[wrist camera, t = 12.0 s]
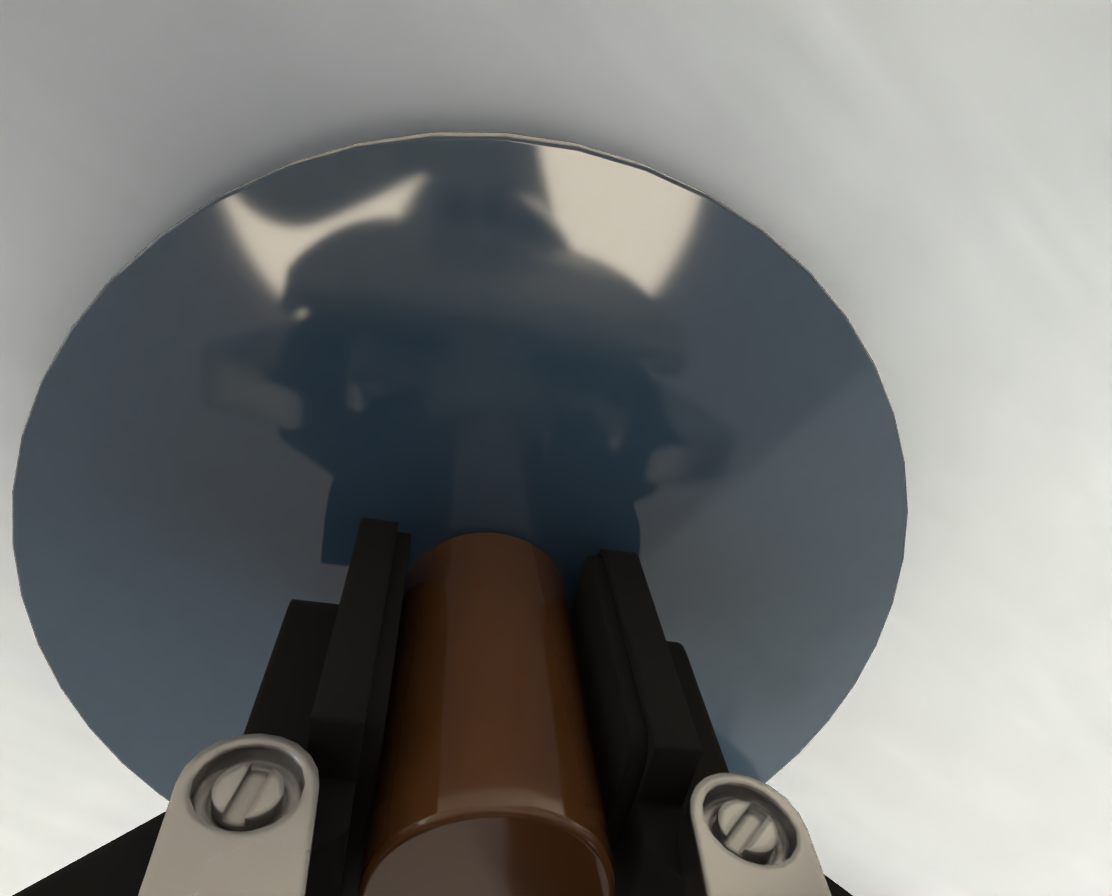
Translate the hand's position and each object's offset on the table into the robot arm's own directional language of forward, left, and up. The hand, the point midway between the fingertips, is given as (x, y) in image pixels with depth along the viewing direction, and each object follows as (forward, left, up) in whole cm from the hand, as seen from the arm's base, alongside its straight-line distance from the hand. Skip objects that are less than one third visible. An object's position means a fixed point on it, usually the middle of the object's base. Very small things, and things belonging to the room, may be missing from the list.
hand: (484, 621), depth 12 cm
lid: (0, 0, -1) cm, 1 cm away
